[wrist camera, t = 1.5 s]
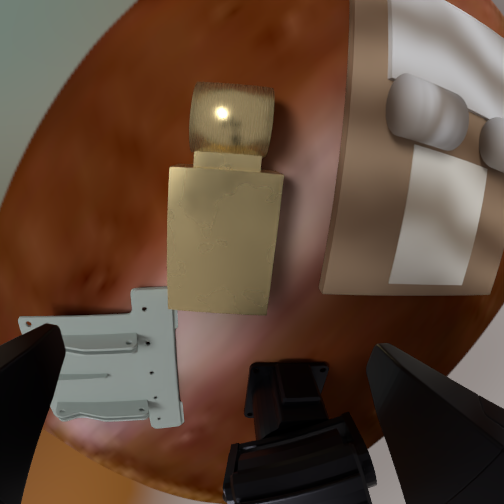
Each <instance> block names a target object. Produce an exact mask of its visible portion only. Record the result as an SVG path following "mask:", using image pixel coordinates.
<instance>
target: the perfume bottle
mask: <svg viewBox="0 0 504 504" xmlns="http://www.w3.org/2000/svg"><path fill="white" fill-rule="evenodd" d="M273 116H274V89H273V88H270V87H261V86H252V85H241V84H228V83H212V82H197V83H196V85H195V89H194V93H193V97H192V104H191V112H190V125H189V143H190V150H191V152H194V164H176V165H174V166H171V167H170V171H169V191H168V220H167V293H168V309H171V310H183V311H196V312H210V313H226V314H245V315H266V314H267V307H268V300H269V292H270V285H271V277H272V270H273V262H274V254H275V246H276V238H277V230H278V222H279V214H280V205H281V197H282V188H283V179H284V175H283V174H281V173H279V172H277V171H273V170H263V169H261V161H262V157H264V158H265V157H266V155H267V152H268V148H269V144H270V139H271V132H272V125H273Z"/></svg>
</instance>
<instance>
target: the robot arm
mask: <svg viewBox="0 0 504 504" xmlns="http://www.w3.org/2000/svg"><path fill="white" fill-rule="evenodd" d="M65 355H66V349H65V345H64V341H63V337H62V334H61V330H60V328H59V326H57V325H54V324H49V323H45V324H43V325H41V326H39V327H37V328H35V329H33V330H31V331H29V332H27V333H25V334H23V335H21V336H19V337H17V338H15V339H13V340H11V341H9V342H7V343H5V344H3V345H1V346H0V504H21V501H22V496H23V492H24V488H25V484H26V480H27V476H28V473H29V469H30V465H31V462H32V458H33V455H34V452H35V449H36V446H37V442H38V439H39V436H40V433H41V430H42V427H43V425H44V422H45V419H46V416H47V413H48V411H49V408H50V405H51V403H52V400H53V397H54V393H55V390H56V386H57V382H58V379H59V375H60V372H61V369H62V365H63V362H64V359H65ZM256 368H257V369H258V370H254V369H256ZM322 368H324V369H322ZM328 370H329V368H328V365H327V364H326V363H254V364H252V365H251V366H250V369H249V377H248V385H247V393H246V401H245V408H244V415H245V417H248V418H254V425H255V435H256V440H255V441H251V442H246V443H241V444H239V443H236V444H231V449H230V453H229V456H228V462H227V467H226V473H225V478H224V483H223V491H224V493H223V499H224V501H225V502H227V503H228V504H372V502H371V498H370V495H369V491H368V488H370V487H373V486H375V485H377V480H376V475H375V470H374V467H373V464H372V460H371V457H370V455H369V452H368V450H367V447H366V445H365V443H364V441H363V439H362V437H361V435H360V433H359V431H358V429H357V427H356V425H355V423H354V421H353V419H352V417H351V415H350V413H349V412H346V413H344V414H341V416H339V417H336V418H333V419H330V420H329V417H328V414H327V411H326V408H325V405H324V403H323V400H322V397H321V392H322V389H323V386H324V383H325V380H326V377H327V373H328ZM366 373H367V377H368V381H369V385H370V389H371V393H372V397H373V401H374V405H375V409H376V413H377V416H378V419H379V422H380V425H381V428H382V431H383V434H384V437H385V439H386V442H387V445H388V448H389V451H390V454H391V457H392V460H393V463H394V466H395V470H396V473H397V476H398V479H399V482H400V485H401V489H402V492H403V495H404V499H405V502H406V504H504V409H503V408H501V407H499V406H497V405H496V404H494V403H492V402H490V401H488V400H486V399H485V398H483V397H481V396H478V395H477V394H476V393H474V392H472V391H471V390H469V389H467V388H465V387H463V386H462V385H460V384H458V383H456V382H455V381H453V380H451V379H450V378H448V377H446V376H445V375H443V374H441V373H439V372H438V371H436V370H434V369H432V368H431V367H429V366H427V365H425V364H424V363H422V362H420V361H419V360H417V359H415V358H413V357H412V356H410V355H408V354H407V353H405V352H403V351H401V350H400V349H398V348H396V347H395V346H393V345H391V344H389V343H381V344H376V345H375V346H374V348H373V351H372V353H371V356H370V358H369V361H368V363H367V367H366Z"/></svg>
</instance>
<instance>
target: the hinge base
mask: <svg viewBox="0 0 504 504" xmlns="http://www.w3.org/2000/svg"><path fill="white" fill-rule="evenodd" d="M503 249H504V38H502V37H501V36H500V35H498V34H497V33H495V32H494V31H493V30H491V29H490V28H488V27H487V26H486V25H484V24H483V23H481V22H480V21H478V20H477V19H475V18H473V17H472V16H470V15H469V14H467V13H466V12H464V11H462V10H461V9H459V8H457V7H455V6H454V5H452V4H450V3H448V2H447V1H445V0H350V17H349V48H348V67H347V82H346V96H345V108H344V119H343V129H342V138H341V147H340V156H339V164H338V172H337V180H336V187H335V194H334V201H333V208H332V214H331V221H330V227H329V233H328V239H327V245H326V251H325V256H324V262H323V267H322V273H321V278H320V283H319V289H320V291H321V293H322V294H339V295H394V296H442V295H490V292H491V289H492V286H493V283H494V280H495V277H496V274H497V270H498V267H499V264H500V260H501V257H502V253H503Z"/></svg>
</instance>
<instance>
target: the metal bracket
mask: <svg viewBox="0 0 504 504" xmlns="http://www.w3.org/2000/svg"><path fill="white" fill-rule="evenodd" d="M131 303H132V311H131V312H130V313H128V314H107V315H78V316H21V317H19V319H18V323H19V326H20V329H21V332H22V335H23V334H25V333H27V332H29V331H31V330H33V329H35V328H37V327H39V326H41V325H43V324H45V323H49V324H54V325H57V326H59V328H60V330H61V334H62V337H63V341H64V345H65V349H66V355H65V359H64V362H63V365H62V369H61V372H60V375H59V379H58V382H57V386H56V390H55V393H54V397H53V400H52V403H51V405H50V407H51V409H52V411H53V413H54V415H55V416H56V417H58V418H59V420H61V421H69V420H72V419H76V418H90V419H95V420H100V421H106V422H109V421H131V420H144V419H147V418H148V417H150V422H151V426H152V427H154V428H167V427H176V426H180V425H181V424H182V423H183V422H184V415H183V404H182V402H181V401H180V400H179V389H178V377H177V364H176V349H175V329H176V328H177V327H178V317H177V310H171V309H168V293H167V286H166V287H147V288H134V289H132V290H131ZM143 307H146V308H147V309H146V310H142V308H143ZM26 321H29V322H31V324H32V326H29V325H27V323H26ZM146 342H150V344H146ZM151 371H153V372H154V373H150V372H151ZM155 396H156V397H157V398H154V397H155Z"/></svg>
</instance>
